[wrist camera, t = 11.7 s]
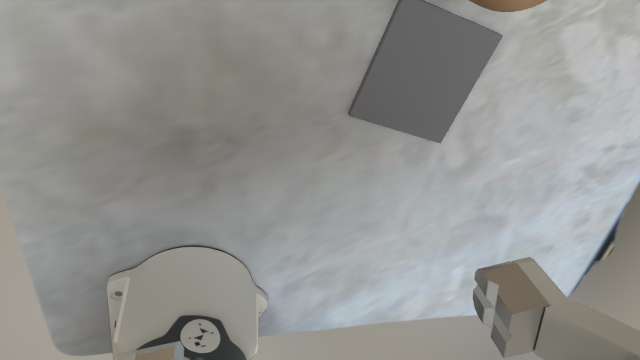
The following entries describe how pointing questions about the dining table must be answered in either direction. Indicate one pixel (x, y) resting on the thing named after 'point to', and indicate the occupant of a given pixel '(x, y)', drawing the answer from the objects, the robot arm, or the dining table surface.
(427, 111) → the mat
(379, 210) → the dining table surface
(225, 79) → the dining table surface
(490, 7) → the lid
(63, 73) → the dining table surface
